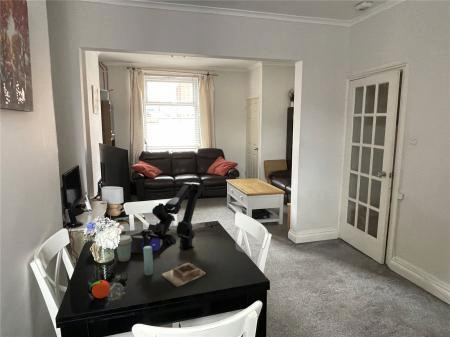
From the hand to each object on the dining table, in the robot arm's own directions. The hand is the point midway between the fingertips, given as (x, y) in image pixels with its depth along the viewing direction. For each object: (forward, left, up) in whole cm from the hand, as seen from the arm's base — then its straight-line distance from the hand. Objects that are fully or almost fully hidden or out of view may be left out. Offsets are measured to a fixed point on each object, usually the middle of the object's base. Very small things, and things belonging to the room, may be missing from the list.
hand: (150, 253), depth 142 cm
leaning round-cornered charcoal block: (-9, -23, -10) cm, 26 cm away
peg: (+2, +1, -9) cm, 10 cm away
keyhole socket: (-10, +14, -9) cm, 19 cm away
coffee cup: (+4, -22, -10) cm, 24 cm away
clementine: (+26, +5, -10) cm, 28 cm away
